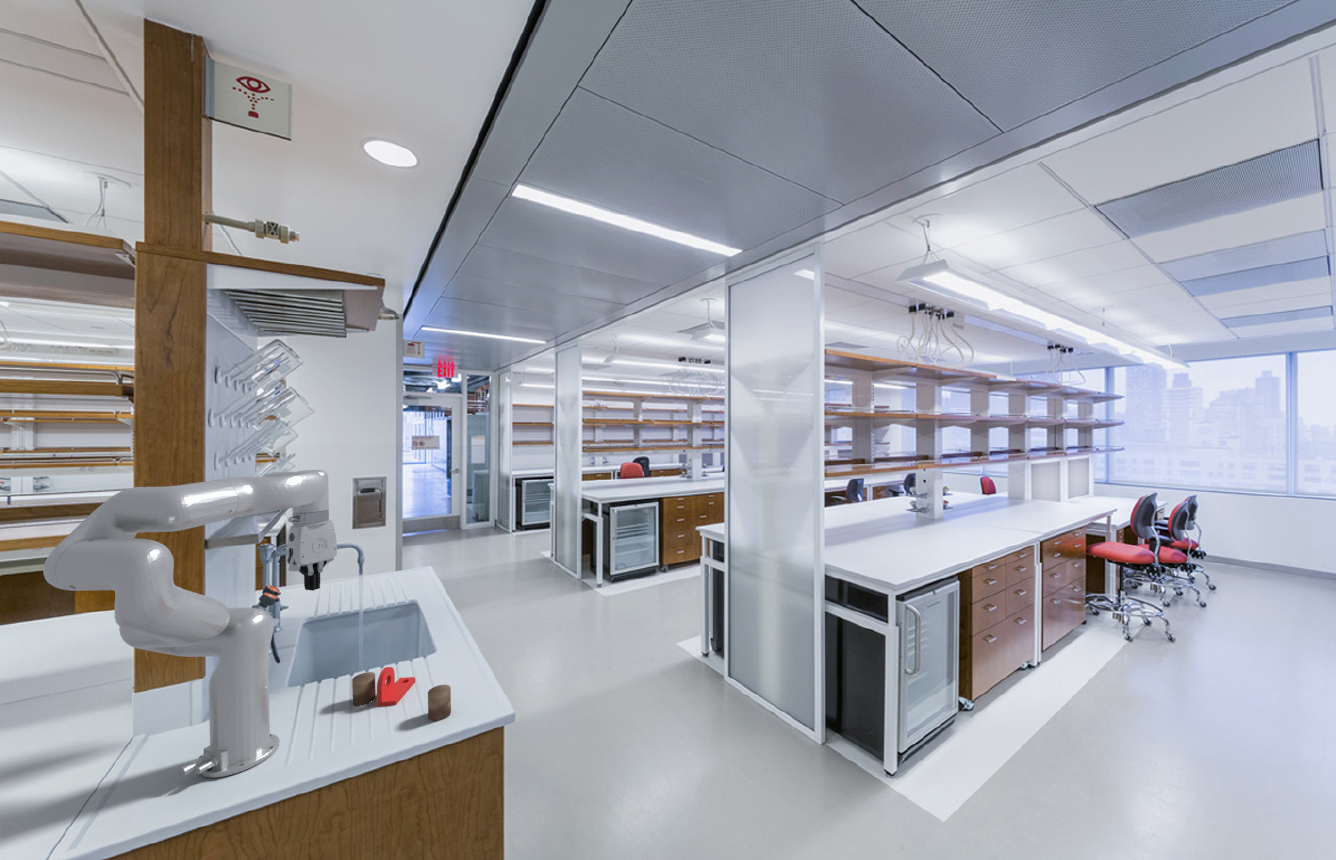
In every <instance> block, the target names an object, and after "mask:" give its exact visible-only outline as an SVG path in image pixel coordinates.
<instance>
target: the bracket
mask: <svg viewBox="0 0 1336 860" xmlns="http://www.w3.org/2000/svg"><path fill="white" fill-rule="evenodd" d="M395 674H396V673H395V670H394V667H393V666H386V667H383V669H382V670H381V671H380V673H379V675H378V678H377V682H376V707H385V706H396V705H398V703H399V702H400V701H401V700H402V699H403V697H404V696H405V695H406V694H407V692H408V691H410V690H411V688H412V687H413V686H414V685H415V683H416V676H415V677H414V676H408V677H407V676H406V677H405V676H404V677H399V678H398V679H397V680H396V675H395Z"/></svg>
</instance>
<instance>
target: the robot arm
mask: <svg viewBox="0 0 1336 860" xmlns="http://www.w3.org/2000/svg"><path fill="white" fill-rule="evenodd" d="M329 500H330V499H329V474H328V472H327V470H324V469H307V470H305V469H304V470H298V471H276V472H275V471H274V472H270V473H266V474H264V475H263V476H261V477H260V476H256V477H255V476H242V477H241V476H240V477H239V476H238V477H226V478H221V479H214V480H209V481H208V480H207V481H202V482H193V483H186V484H181V485H180V484H179V485H171V486H169V485H167V486H136V487H135V486H133V487H129V488H126V489H123V490H121V491H120V492H117V493H116V494H114V495H112V496H111V497H109V498H108V499H106V500H105V501H104V502H102V504H101V505H99V506H98V507H96V509H95V510H94V511H93V512H91V513H90V514H89V515H88V516H87V517H85V519H84V520H83V521H81V523H80V524H79V525H78V526H76V528H74V529H73V530H72V531H71V532H70V533H69V534H68V535H67V536H66V537H64V539H62V541H61V542H59V543H58V544H57V546H56V547H54V549H53V550H52V551H51V552H50V554H49V555H48V556H47V558H46V559H45V562H44V565H43V570H42V571H43V576H44V579H45V581H46V582H47V583H48V584H49V585H51V586H52V587H54V588H56V589H60V590H64V591H73V592H74V591H80V592H82V591H85V592H86V591H114V593H115V594H114V595H115V596H114V597H115V598H114V620H115V623H116V624H117V625H118V627H119V629H118V630H119V635H120V637H121V639H122V640H123V642H124V643H126V644H127V645H129V646H130V647H132V648H135V649H139V650H143V651H148V652H153V653H154V652H155V653H159V654H165V655H169V656H177V657H187V658H188V657H189V658H192V657H194V658H199V657H200V658H201V657H203V658H205V657H209V658H210V657H214V658H219V662H218V664H217V665H216V666H215V668H214V670H213V672H212V673H211V675H210V677H209V681H208V704H209V707H208V708H209V711H208V712H209V713H208V714H209V717H208V718H209V745H208V746H206V747H204V748H203V754H201V755H199V756H198V758H197V759H195V760H194V761H191V762H189V763H187V764H185V765H183V766H181V767H180V768H179V771H178V772H179V776H180V777H181V778H186V777H187V776H189V775H191V774H192V773H195V772H196V774H197V775H201V776H203V777H204V778H209V779H211V778H212V779H213V778H214V779H215V778H222V777H228V776H231V775H236V774H238V773H240V772H244V771H247V770H249V769H251V768H252V767H255V766H257V765H259V764H260V763H262V762H264V761H265V760H267V759H268V758H269V757H271V756H272V755H273V754H274V753H275V752H276V751H277V749H278V748H279V746H280V738H279V736H278V735H275V734H274V733H271V732H270V730H271V729H270V689H269V688H270V685H269V684H270V680H269V677H270V676H269V675H270V673H269V670H270V669H269V668H270V667H269V665H270V664H269V662H270V661H269V660H270V658H269V657H270V650H271V649H270V648H271V642H272V639H273V636H274V635H273V633H274V627H275V620H274V618H273V616H272V615H271V614H270V613H269V612H268V611H266V610H264V609H261V608H257V607H256V608H255V607H227V606H226V605H225V604H224V603H223V602H222V601H221V600H218V599H217V598H214V597H212V596H208V595H204V594H200V593H199V592H198V593H197V592H194V591H191V590H188V589H184V588H182V587H180V586H177V585H175V583H174V582H175V581H174V567H175V566H174V565H175V564H174V563H175V561H174V557H173V554H172V553H171V551H170V549H169V548H168V547H167V546H166V545H165V544H163V543H161V542H159V541H156V540H152V539H149V538H148V539H147V538H135V537H136V535H137V534H138V533H159V532H160V533H166V532H168V533H169V532H178V531H184V530H188V529H193V528H197V527H201V526H205V525H209V524H213V523H217V522H221V521H226V520H231V519H234V518H235V519H236V518H241V517H249V516H254V515H260V514H265V513H270V512H277V511H282V510H289V509H291V510H292V513H291V515H292V516H289V517H288V518H287V521H288V522H289V523H292V525H290V526H289V531H288V535H287V544H286V562H287V564H288V571H289V572H299V573H300V574H301V575H302V576H303V580H304V581H303V585H304V590H306V591H311V592H312V591H316V590H319V589H320V588H321V573H322V572H323V571H324V568H325V566H326V565H327V564H329V563H331V562H333V561H334V558H335V557H336V556H337V553H338V541H337V537H336V536H337V535H336V530H335V525H334V523H333V520H330V508H329V507H330V505H329V504H330V503H329Z"/></svg>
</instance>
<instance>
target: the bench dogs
mask: <svg viewBox="0 0 1336 860" xmlns="http://www.w3.org/2000/svg"><path fill="white" fill-rule="evenodd" d="M351 681H352V682H351V683H352V684H351V687H352V688H351V689H352V705H353V706H355V707H361V706H360V705H362V706H365V704H366V705H368V704H370V703H369V702H371V701H372V702H374V701H375V700H376V698H377V688H376V673H375V672H371V671H368V672H367V671H366V672H364V673H359V674H357V675H356V676H354V677H353V678H352V680H351ZM451 691H452V690H451V686H450V685H449V684H440V685H439V684H438V685H436V686H434V687H432V688H430V689H429V690H428V691H427V707H428V708H427V714H428V715H427V717H428V718H427V719H428V721H431V722H439V721H442V720H445V719H447V718H449V717H450V715H451V714H450V713H452V701H451V700H452V695H451V694H452V692H451ZM375 697H376V698H375ZM374 699H375V700H374ZM373 700H374V701H373ZM372 702H371V703H372Z"/></svg>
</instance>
